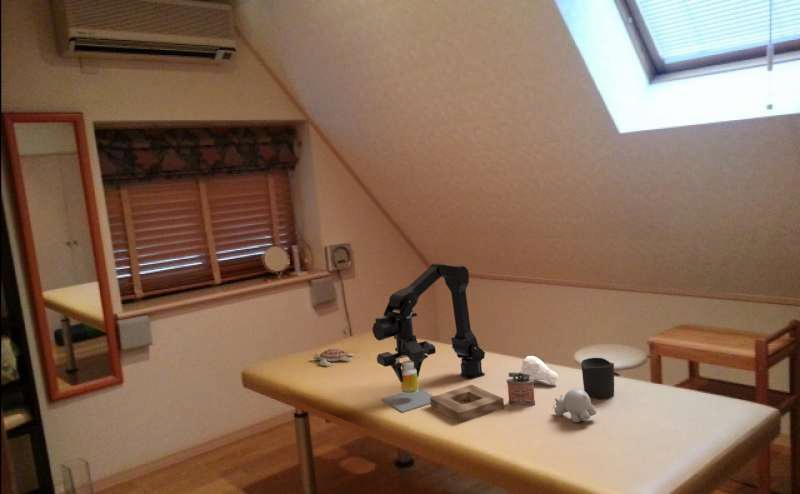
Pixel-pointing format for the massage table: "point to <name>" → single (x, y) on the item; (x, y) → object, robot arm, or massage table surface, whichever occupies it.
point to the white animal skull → (538, 370)
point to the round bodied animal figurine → (575, 405)
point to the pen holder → (598, 377)
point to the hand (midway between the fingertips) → (409, 379)
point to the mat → (408, 400)
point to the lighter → (520, 389)
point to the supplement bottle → (409, 378)
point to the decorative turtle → (332, 356)
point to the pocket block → (477, 407)
